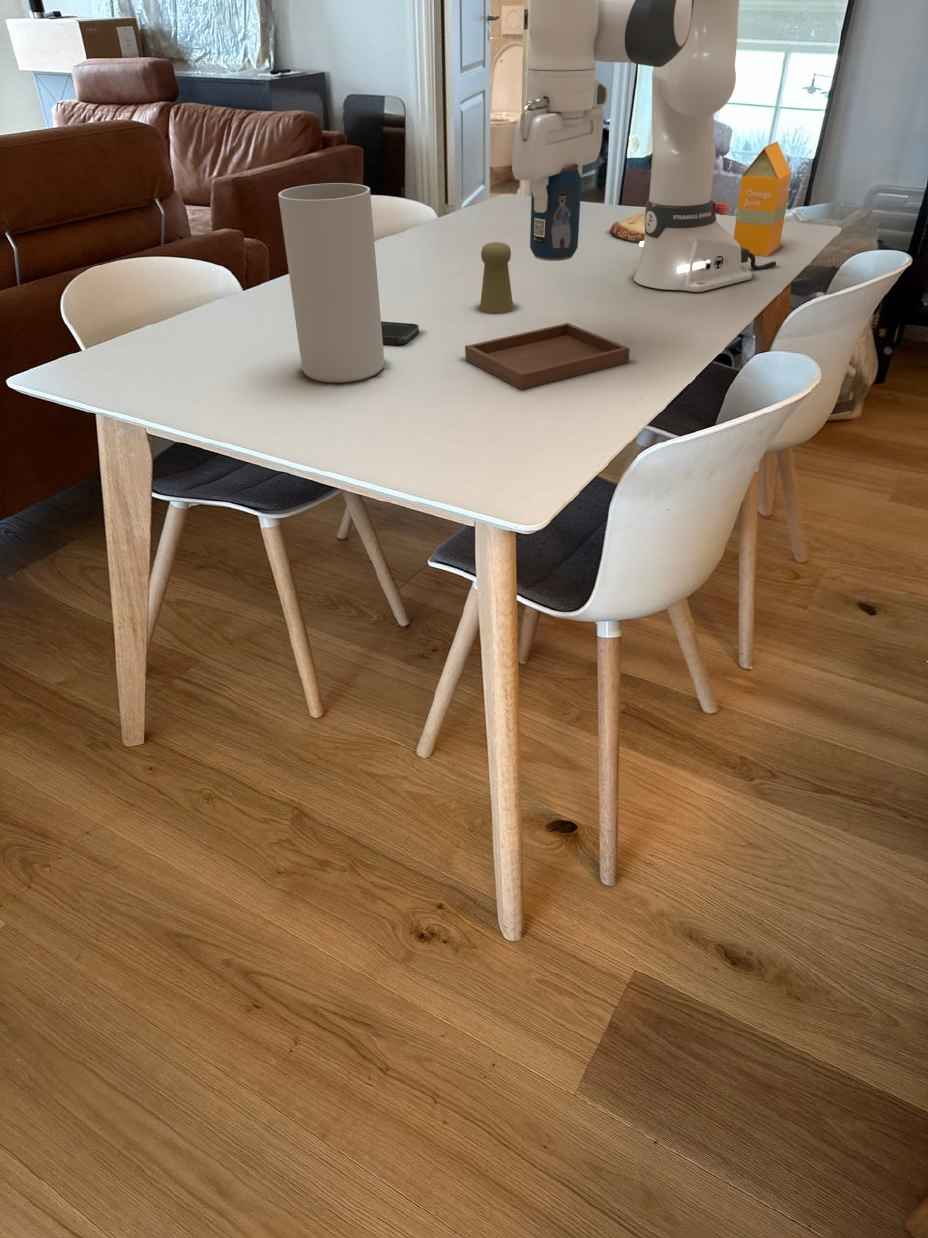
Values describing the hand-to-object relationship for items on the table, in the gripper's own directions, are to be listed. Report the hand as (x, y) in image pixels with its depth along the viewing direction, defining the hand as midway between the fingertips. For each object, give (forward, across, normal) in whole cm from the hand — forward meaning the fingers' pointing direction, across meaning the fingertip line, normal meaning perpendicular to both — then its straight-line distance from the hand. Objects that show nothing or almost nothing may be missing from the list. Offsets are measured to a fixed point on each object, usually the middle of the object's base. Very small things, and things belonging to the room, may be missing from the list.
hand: (555, 206), depth 128 cm
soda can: (+7, 0, 0) cm, 7 cm away
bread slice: (+21, +81, +16) cm, 86 cm away
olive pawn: (+22, +18, +20) cm, 35 cm away
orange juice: (+21, +79, -8) cm, 82 cm away
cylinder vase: (+22, -20, +25) cm, 39 cm away
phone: (+22, -4, +31) cm, 38 cm away
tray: (+22, -2, -1) cm, 22 cm away
